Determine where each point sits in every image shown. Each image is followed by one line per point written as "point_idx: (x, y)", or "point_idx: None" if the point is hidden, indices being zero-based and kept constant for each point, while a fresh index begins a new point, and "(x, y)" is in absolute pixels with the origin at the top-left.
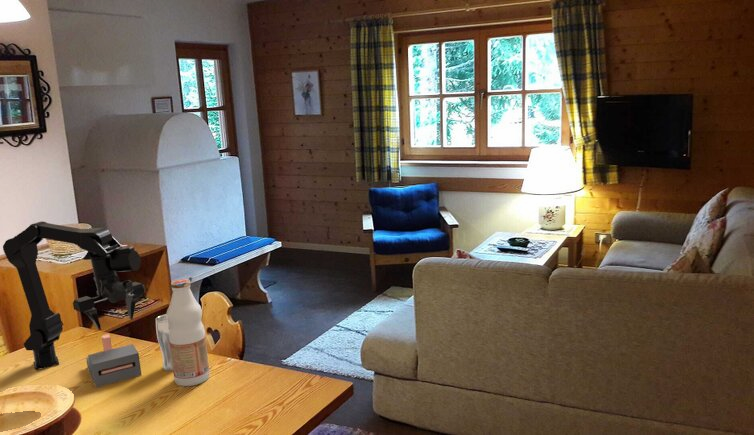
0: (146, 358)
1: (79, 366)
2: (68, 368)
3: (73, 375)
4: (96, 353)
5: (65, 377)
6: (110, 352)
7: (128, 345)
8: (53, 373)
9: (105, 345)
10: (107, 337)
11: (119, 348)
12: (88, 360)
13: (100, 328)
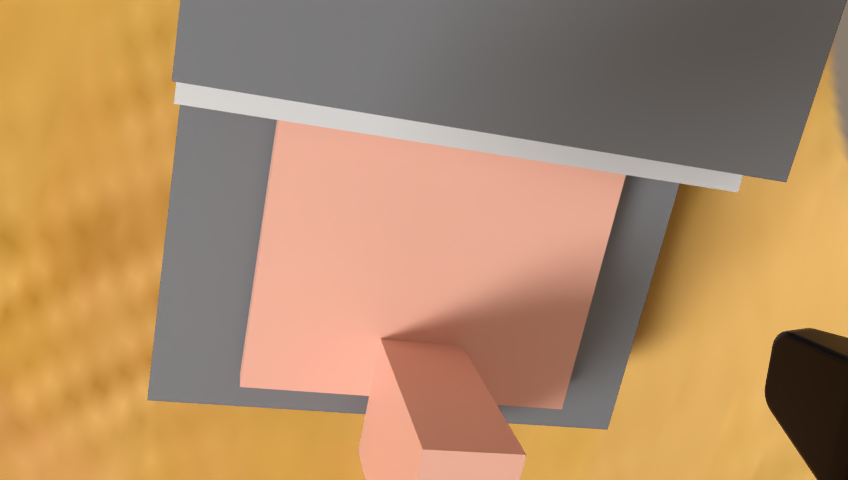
0: (16, 160)
1: (599, 452)
2: (672, 472)
3: (711, 294)
4: (700, 146)
5: (767, 302)
6: (566, 10)
7: (251, 76)
8: (783, 452)
9: (474, 394)
10: (462, 458)
11: (405, 68)
12: (619, 347)
13: (814, 338)
